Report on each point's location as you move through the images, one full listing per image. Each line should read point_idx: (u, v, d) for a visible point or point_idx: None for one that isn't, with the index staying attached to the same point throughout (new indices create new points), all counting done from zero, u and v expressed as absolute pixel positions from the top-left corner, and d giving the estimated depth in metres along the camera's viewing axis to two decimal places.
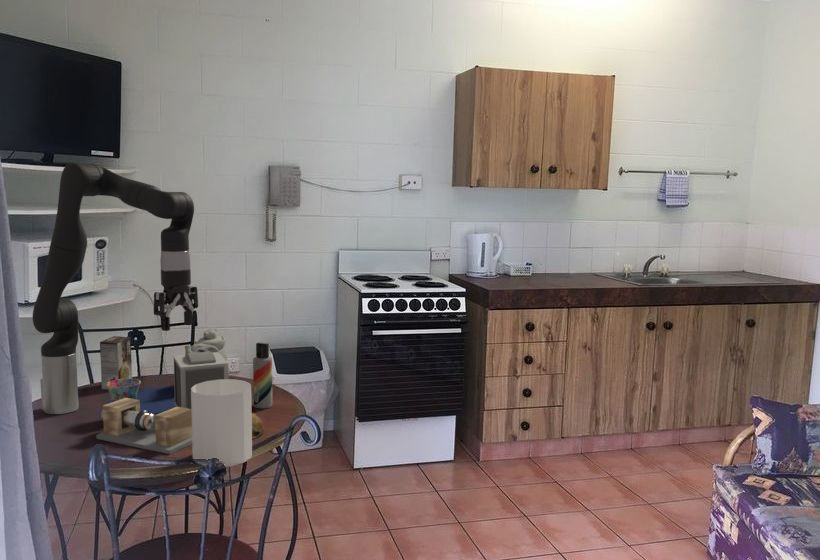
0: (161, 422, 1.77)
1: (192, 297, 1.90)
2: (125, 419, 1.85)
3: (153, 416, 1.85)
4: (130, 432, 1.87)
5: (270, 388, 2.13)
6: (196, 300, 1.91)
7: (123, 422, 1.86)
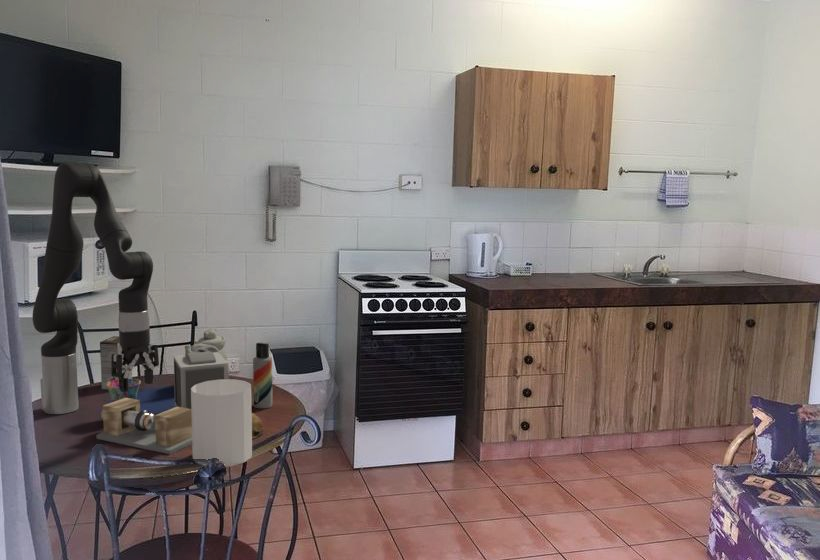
0: (161, 422, 1.77)
1: (152, 355, 1.89)
2: (125, 419, 1.85)
3: (153, 416, 1.85)
4: (130, 432, 1.87)
5: (270, 388, 2.13)
6: (156, 358, 1.89)
7: (123, 422, 1.86)
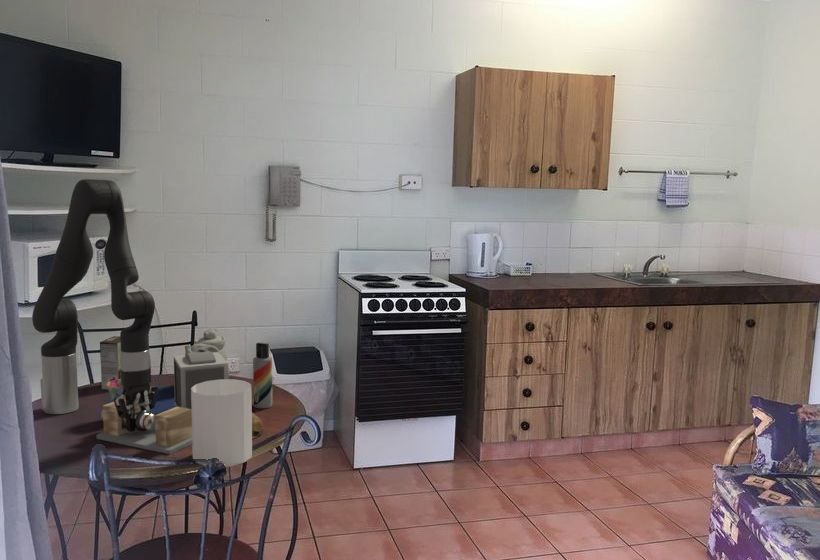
0: (161, 422, 1.77)
1: (151, 397, 1.90)
2: (125, 419, 1.85)
3: (153, 416, 1.85)
4: (130, 432, 1.87)
5: (270, 388, 2.13)
6: (154, 400, 1.90)
7: (123, 422, 1.86)
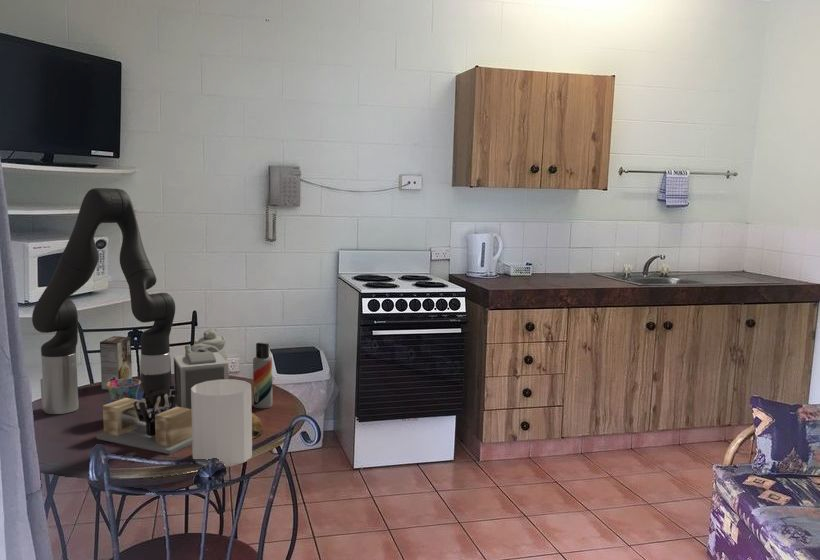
0: (161, 422, 1.77)
1: (171, 400, 1.87)
2: (145, 423, 1.82)
3: None
4: (130, 432, 1.87)
5: (270, 388, 2.13)
6: (174, 404, 1.87)
7: (143, 426, 1.83)
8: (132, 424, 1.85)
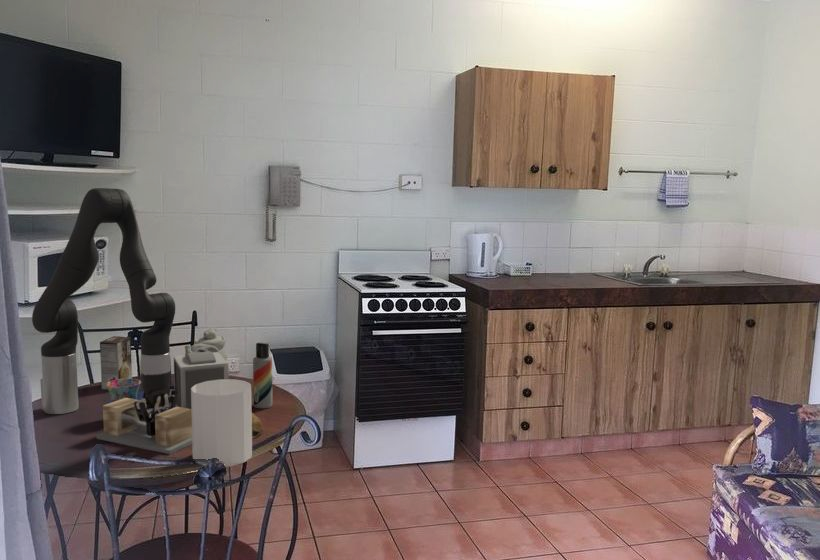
0: (161, 422, 1.77)
1: (171, 400, 1.87)
2: (145, 423, 1.82)
3: None
4: (130, 432, 1.87)
5: (270, 388, 2.13)
6: (174, 404, 1.87)
7: (143, 426, 1.83)
8: (132, 424, 1.85)
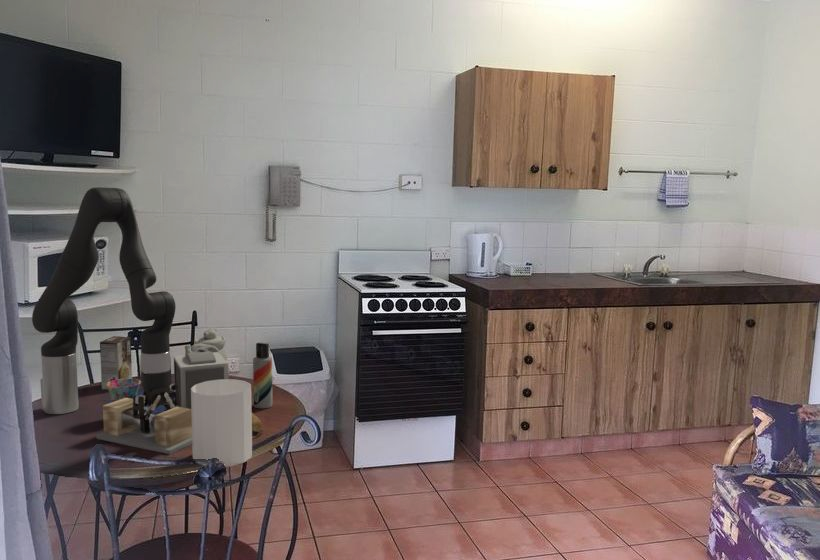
0: (161, 422, 1.77)
1: (173, 395, 1.88)
2: None
3: None
4: (130, 432, 1.87)
5: (270, 388, 2.13)
6: (177, 397, 1.88)
7: None
8: (132, 424, 1.85)
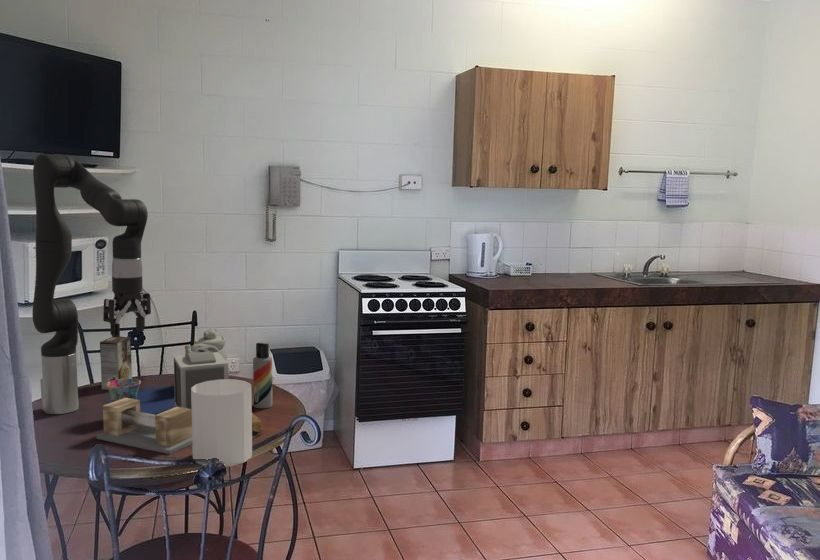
0: (161, 422, 1.77)
1: (144, 303, 1.91)
2: (145, 423, 1.82)
3: None
4: (130, 432, 1.87)
5: (270, 388, 2.13)
6: (148, 306, 1.92)
7: (143, 426, 1.83)
8: (132, 424, 1.85)
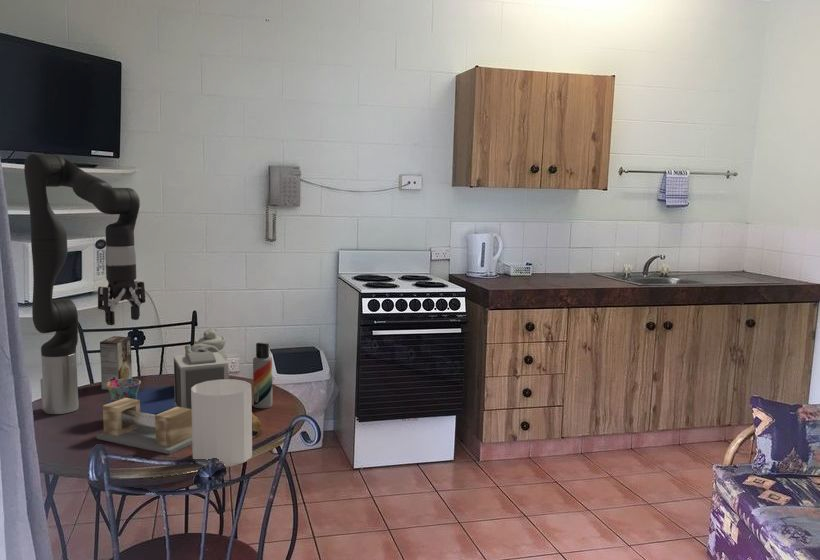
0: (161, 422, 1.77)
1: (139, 292, 1.93)
2: (145, 423, 1.82)
3: None
4: (130, 432, 1.87)
5: (270, 388, 2.13)
6: (143, 295, 1.93)
7: (143, 426, 1.83)
8: (132, 424, 1.85)
